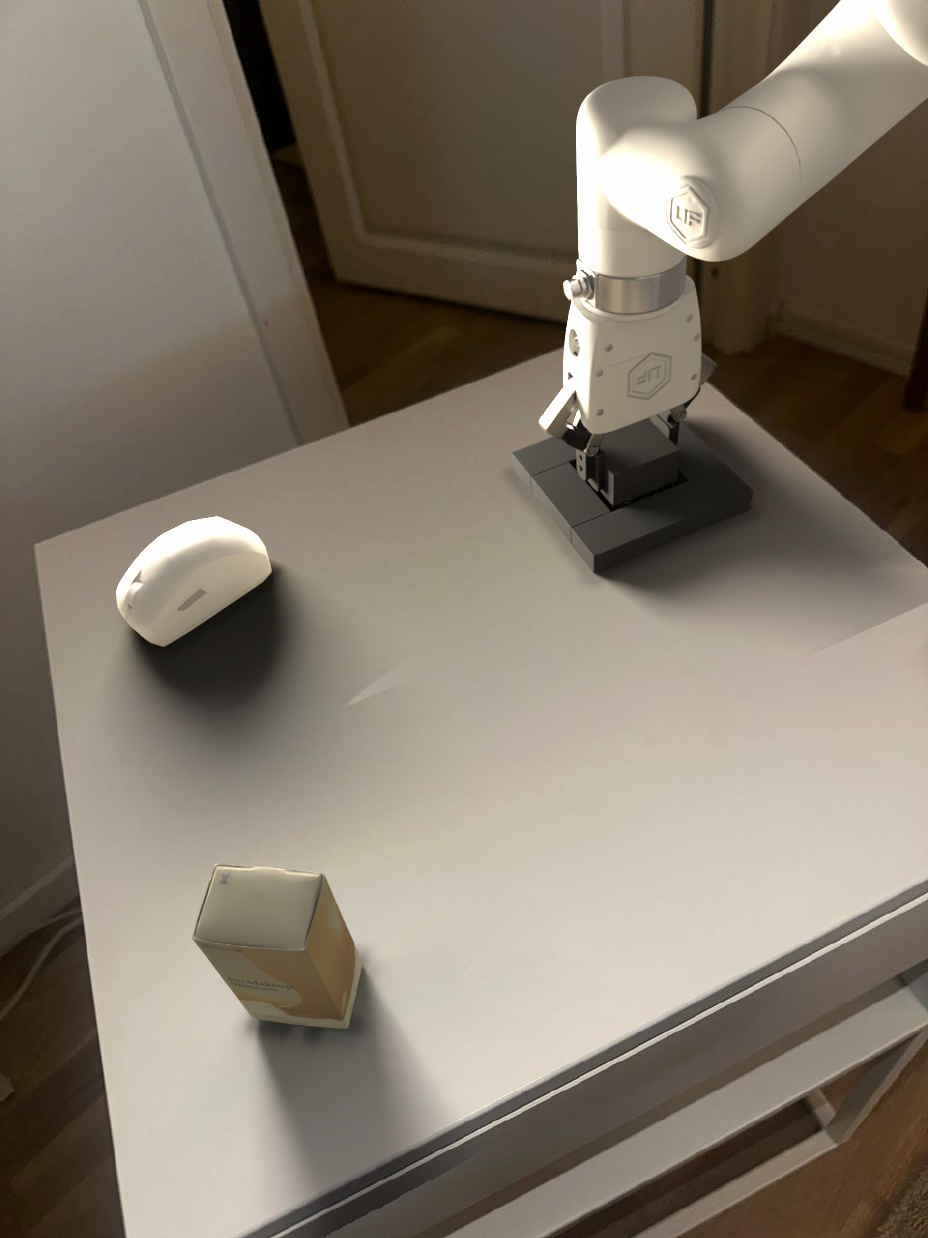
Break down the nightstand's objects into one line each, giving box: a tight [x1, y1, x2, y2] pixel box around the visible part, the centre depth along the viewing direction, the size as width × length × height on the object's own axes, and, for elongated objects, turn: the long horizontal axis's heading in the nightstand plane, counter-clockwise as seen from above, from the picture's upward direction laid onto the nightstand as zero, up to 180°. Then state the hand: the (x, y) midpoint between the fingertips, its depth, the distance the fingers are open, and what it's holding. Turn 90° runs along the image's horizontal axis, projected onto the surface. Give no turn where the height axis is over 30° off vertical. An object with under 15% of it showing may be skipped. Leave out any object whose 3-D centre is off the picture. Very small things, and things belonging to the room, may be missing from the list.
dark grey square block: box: [587, 418, 680, 507], centre depth 81 cm, size 6×6×3 cm
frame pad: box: [511, 417, 755, 574], centre depth 83 cm, size 15×15×2 cm
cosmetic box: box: [191, 863, 363, 1030], centre depth 54 cm, size 6×4×12 cm
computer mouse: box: [115, 516, 273, 648], centre depth 79 cm, size 6×13×6 cm, turn 132°
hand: (627, 465), depth 82 cm, fingers closed on dark grey square block, 6 cm apart
